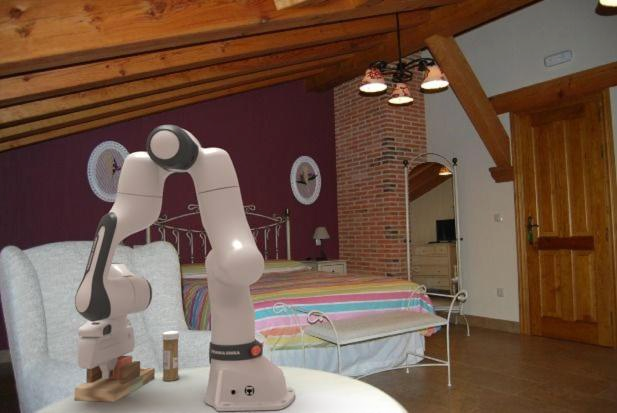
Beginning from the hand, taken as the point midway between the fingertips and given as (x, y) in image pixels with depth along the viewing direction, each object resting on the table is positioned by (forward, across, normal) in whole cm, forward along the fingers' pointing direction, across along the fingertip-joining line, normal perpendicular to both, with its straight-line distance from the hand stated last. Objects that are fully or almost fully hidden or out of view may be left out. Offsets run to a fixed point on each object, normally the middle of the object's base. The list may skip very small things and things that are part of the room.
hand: (108, 377), depth 121 cm
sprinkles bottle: (+4, -14, +11) cm, 18 cm away
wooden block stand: (+4, -4, 0) cm, 6 cm away
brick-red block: (+1, -5, 0) cm, 5 cm away
